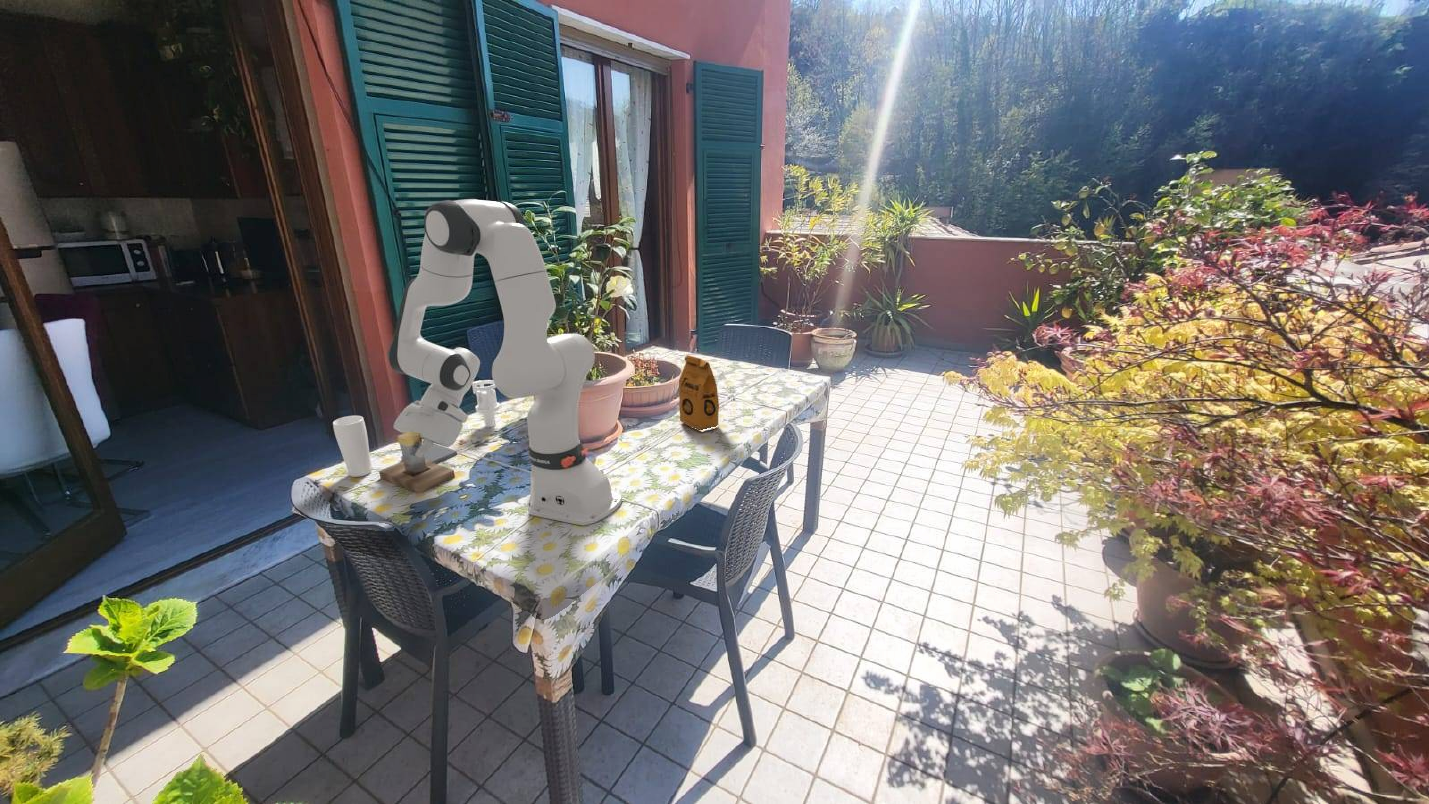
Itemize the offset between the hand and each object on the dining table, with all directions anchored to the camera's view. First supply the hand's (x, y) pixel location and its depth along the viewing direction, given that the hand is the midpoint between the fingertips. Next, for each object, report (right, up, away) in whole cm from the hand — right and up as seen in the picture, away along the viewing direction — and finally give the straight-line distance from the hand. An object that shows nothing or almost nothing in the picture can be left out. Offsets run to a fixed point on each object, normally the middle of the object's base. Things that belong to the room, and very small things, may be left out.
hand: (410, 454), depth 143 cm
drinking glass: (-16, -6, +5) cm, 17 cm away
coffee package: (+72, +6, +36) cm, 81 cm away
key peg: (0, -6, +3) cm, 7 cm away
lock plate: (0, -6, +3) cm, 7 cm away
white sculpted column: (+6, +6, +35) cm, 36 cm away
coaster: (-2, -2, +14) cm, 14 cm away
